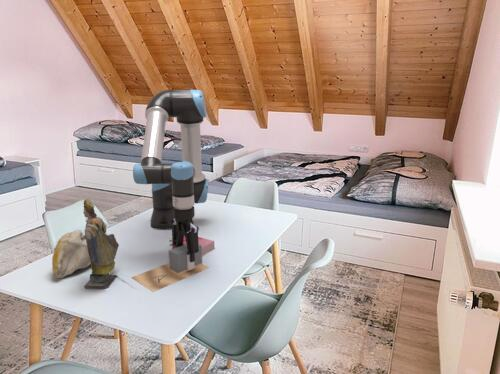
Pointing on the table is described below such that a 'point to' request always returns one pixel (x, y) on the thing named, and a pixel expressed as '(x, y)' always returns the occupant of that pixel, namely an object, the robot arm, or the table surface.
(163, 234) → the table surface
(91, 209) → the statue
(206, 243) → the pink flat block
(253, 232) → the table surface
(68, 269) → the stone
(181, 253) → the block
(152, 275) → the oak board
